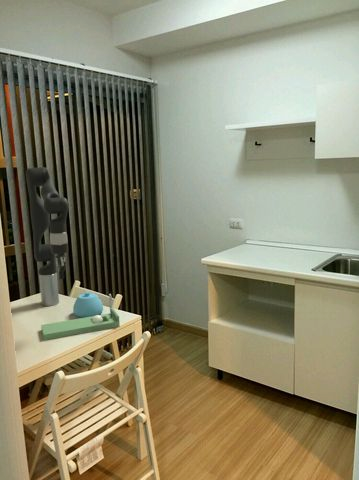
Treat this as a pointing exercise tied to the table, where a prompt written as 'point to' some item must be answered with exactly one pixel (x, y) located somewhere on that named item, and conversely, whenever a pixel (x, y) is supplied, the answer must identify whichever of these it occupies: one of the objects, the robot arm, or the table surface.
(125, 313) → the table surface
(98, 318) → the ball
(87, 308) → the sugar bowl
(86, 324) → the mini golf green
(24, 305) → the table surface
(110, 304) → the flag pin
